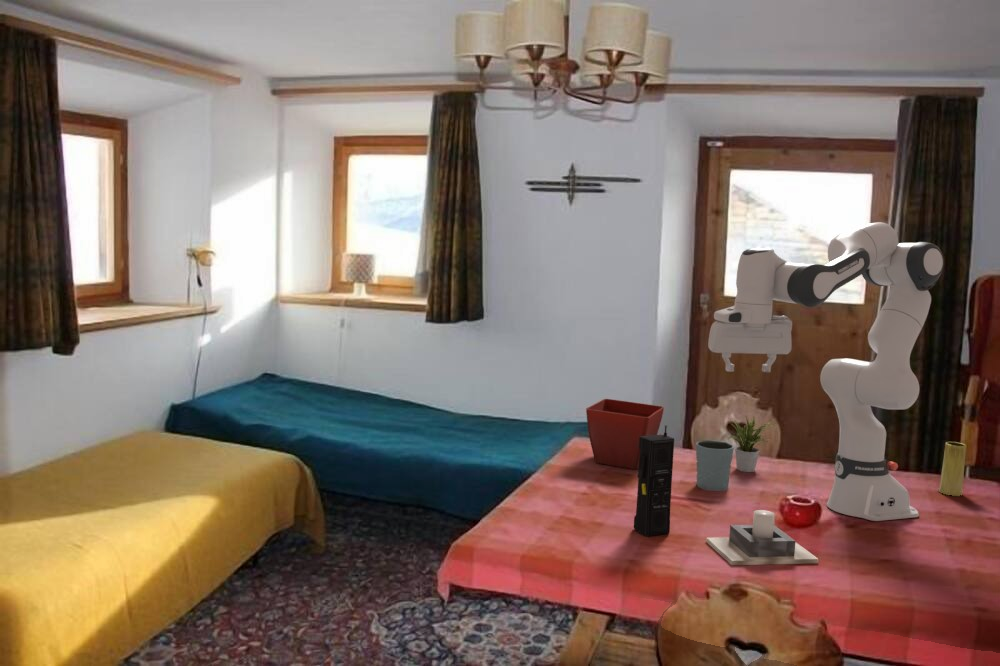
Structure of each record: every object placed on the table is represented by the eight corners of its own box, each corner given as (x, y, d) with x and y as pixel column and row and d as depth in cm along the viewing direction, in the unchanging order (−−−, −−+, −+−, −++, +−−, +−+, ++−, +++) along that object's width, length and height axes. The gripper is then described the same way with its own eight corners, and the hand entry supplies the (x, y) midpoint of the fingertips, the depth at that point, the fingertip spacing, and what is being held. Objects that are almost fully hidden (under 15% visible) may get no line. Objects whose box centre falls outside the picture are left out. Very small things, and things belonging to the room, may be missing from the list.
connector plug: (766, 544, 206) (769, 509, 205) (775, 551, 202) (778, 516, 201) (747, 544, 205) (750, 510, 204) (756, 551, 201) (759, 516, 200)
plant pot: (661, 459, 279) (665, 405, 277) (644, 474, 262) (648, 417, 260) (601, 450, 287) (604, 398, 285) (581, 464, 269) (584, 408, 267)
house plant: (778, 478, 264) (783, 423, 262) (731, 476, 264) (735, 421, 262) (765, 465, 278) (769, 413, 276) (720, 463, 278) (724, 410, 276)
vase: (939, 494, 255) (944, 444, 254) (937, 488, 261) (943, 440, 259) (963, 497, 253) (969, 447, 251) (961, 492, 259) (966, 443, 257)
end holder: (787, 540, 212) (788, 521, 212) (817, 563, 198) (819, 543, 198) (706, 541, 209) (707, 522, 208) (731, 565, 195) (733, 545, 194)
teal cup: (738, 489, 252) (741, 446, 250) (712, 493, 246) (716, 450, 244) (710, 479, 260) (713, 438, 258) (685, 483, 254) (688, 442, 253)
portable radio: (644, 538, 209) (651, 431, 206) (628, 529, 214) (635, 425, 211) (671, 534, 213) (679, 429, 210) (655, 525, 218) (662, 423, 215)
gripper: (786, 314, 224) (781, 370, 226) (707, 312, 221) (703, 368, 222) (799, 317, 218) (793, 374, 220) (718, 315, 214) (713, 373, 216)
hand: (747, 371), depth 221 cm, fingers open, 8 cm apart
